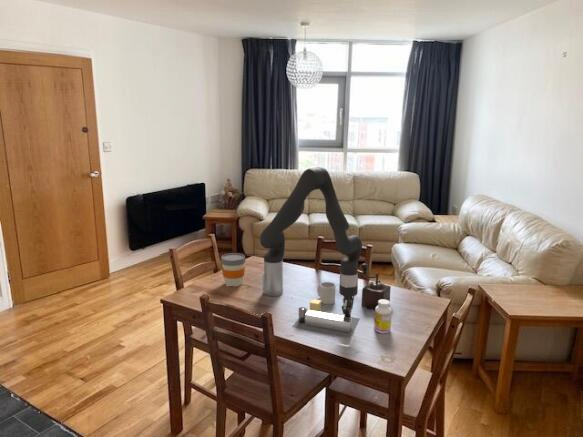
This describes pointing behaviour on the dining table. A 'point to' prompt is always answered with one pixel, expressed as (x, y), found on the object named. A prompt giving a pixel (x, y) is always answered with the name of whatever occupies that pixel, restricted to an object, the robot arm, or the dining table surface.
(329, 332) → the mat
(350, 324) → the bar
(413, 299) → the dining table surface
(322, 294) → the cup
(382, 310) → the supplement bottle
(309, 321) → the base
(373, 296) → the coffee grinder
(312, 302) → the block
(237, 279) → the reusable coffee cup
